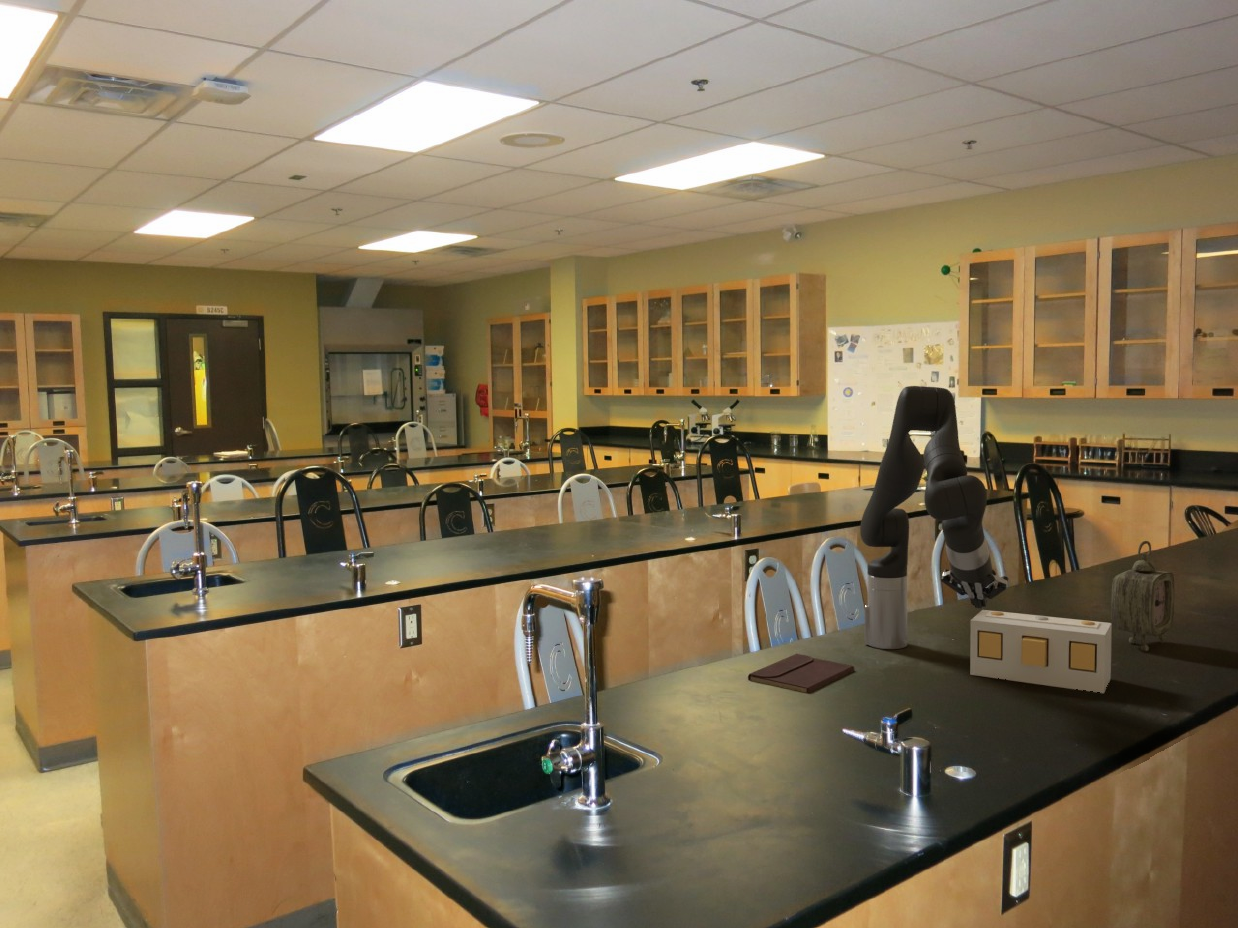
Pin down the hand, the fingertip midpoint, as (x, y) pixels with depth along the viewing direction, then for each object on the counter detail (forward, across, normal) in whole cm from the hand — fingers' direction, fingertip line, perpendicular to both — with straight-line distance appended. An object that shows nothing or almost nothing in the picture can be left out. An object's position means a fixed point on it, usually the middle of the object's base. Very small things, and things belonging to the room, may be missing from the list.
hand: (979, 604), depth 193 cm
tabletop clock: (+51, -25, -27) cm, 63 cm away
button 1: (+19, 0, 0) cm, 19 cm away
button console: (+25, -9, 0) cm, 26 cm away
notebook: (+10, +35, +19) cm, 41 cm away
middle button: (+18, -9, +1) cm, 20 cm away
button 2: (+19, -18, 0) cm, 26 cm away
